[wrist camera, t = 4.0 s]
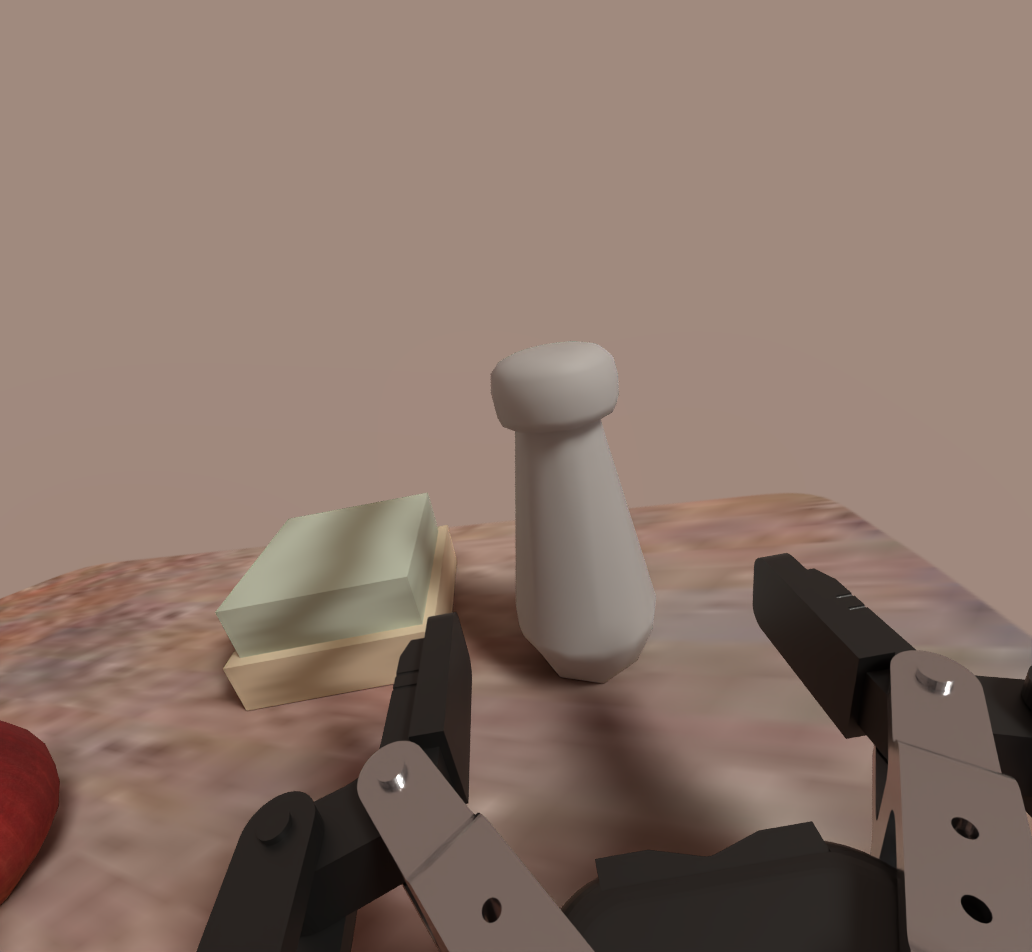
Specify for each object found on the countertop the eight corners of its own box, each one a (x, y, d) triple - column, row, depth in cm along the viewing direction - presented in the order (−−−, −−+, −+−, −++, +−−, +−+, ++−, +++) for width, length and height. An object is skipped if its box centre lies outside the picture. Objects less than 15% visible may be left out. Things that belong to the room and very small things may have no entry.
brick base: (246, 710, 21) (196, 622, 19) (313, 586, 29) (283, 516, 27) (446, 674, 21) (417, 581, 19) (456, 559, 29) (437, 487, 27)
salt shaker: (519, 615, 23) (462, 351, 18) (632, 591, 24) (607, 323, 18) (536, 715, 18) (462, 383, 13) (682, 684, 18) (666, 343, 13)
